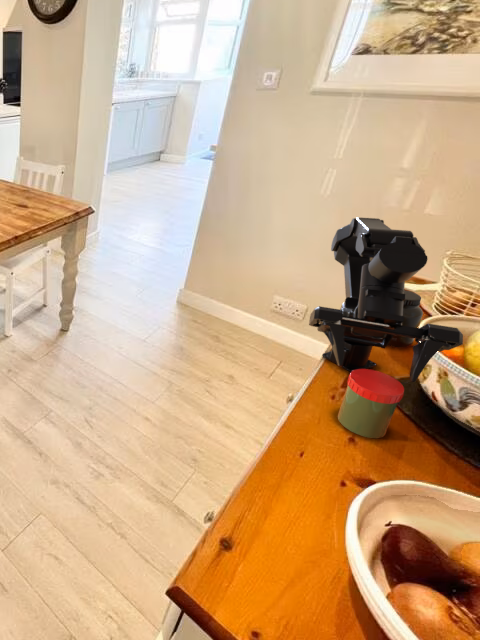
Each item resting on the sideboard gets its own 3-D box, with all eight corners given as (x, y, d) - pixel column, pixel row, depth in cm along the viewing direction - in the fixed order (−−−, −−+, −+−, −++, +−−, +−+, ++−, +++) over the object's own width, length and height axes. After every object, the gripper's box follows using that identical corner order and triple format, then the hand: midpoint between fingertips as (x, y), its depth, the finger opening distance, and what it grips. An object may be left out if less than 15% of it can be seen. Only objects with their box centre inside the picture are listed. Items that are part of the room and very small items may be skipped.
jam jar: (353, 406, 77) (367, 366, 73) (395, 431, 71) (412, 389, 67) (328, 417, 75) (341, 376, 72) (368, 443, 70) (384, 400, 66)
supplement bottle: (380, 328, 96) (395, 284, 91) (418, 343, 90) (437, 296, 85) (362, 336, 94) (376, 292, 89) (400, 352, 88) (417, 305, 83)
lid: (361, 401, 68) (364, 393, 67) (339, 375, 74) (341, 367, 73) (412, 406, 66) (415, 397, 65) (385, 378, 72) (388, 370, 71)
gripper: (436, 313, 75) (432, 395, 72) (308, 294, 86) (299, 365, 82) (465, 295, 67) (463, 388, 63) (319, 277, 77) (309, 356, 74)
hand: (375, 373), depth 71 cm, fingers open, 9 cm apart
